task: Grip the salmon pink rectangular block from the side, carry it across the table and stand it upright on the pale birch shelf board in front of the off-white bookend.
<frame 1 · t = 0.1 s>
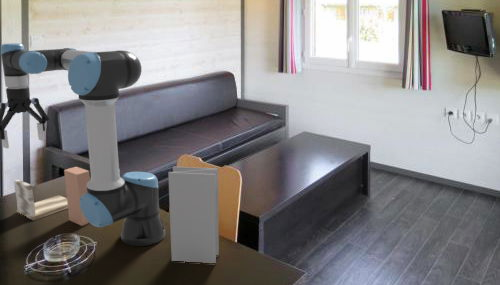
hand: (24, 143, 176), 28 cm above the table, tool pointing down, fingers open, 13 cm apart
salmon pink rectangular block: (81, 220, 178), on the table
shelf board: (47, 208, 188), on the table
brochure: (195, 259, 152), on the table
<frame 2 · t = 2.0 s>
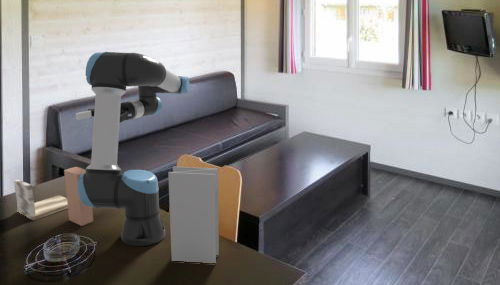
hand: (87, 119, 183), 35 cm above the table, tool horizontal, fingers open, 13 cm apart
nothing on the table moved.
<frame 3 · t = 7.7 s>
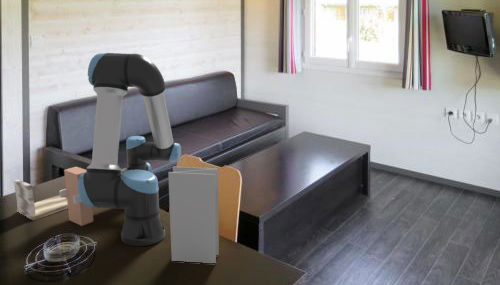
hand: (67, 197, 171), 11 cm above the table, tool horizontal, fingers closed on salmon pink rectangular block, 8 cm apart
salmon pink rectangular block: (81, 220, 178), on the table, touching gripper
everything else where it was.
when the fingers open (13 cm above the table, at t = 17.1 s): salmon pink rectangular block stays where it is, resting on shelf board.
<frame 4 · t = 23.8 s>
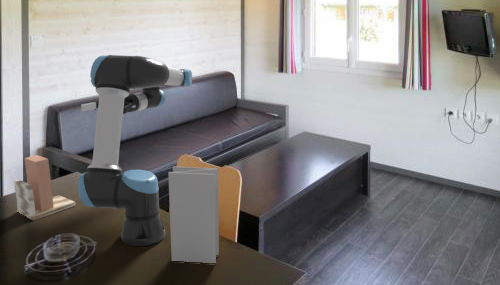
hand: (91, 110, 187), 38 cm above the table, tool horizontal, fingers open, 13 cm apart
salmon pink rectangular block: (42, 206, 186), point 1 cm above the table, touching shelf board
everything else where it was.
at the end: salmon pink rectangular block inside the target area on the shelf board (0.4 cm from its centre), point 1.5 cm above the shelf board's base; salmon pink rectangular block tilted 0°; the gripper is holding nothing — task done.
